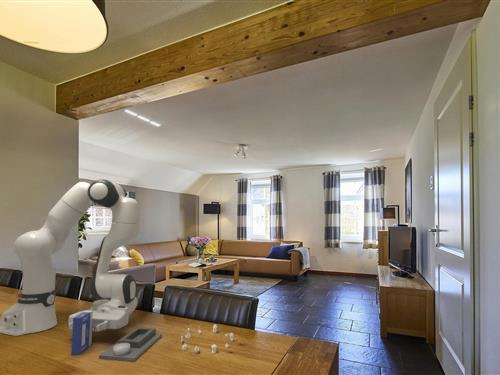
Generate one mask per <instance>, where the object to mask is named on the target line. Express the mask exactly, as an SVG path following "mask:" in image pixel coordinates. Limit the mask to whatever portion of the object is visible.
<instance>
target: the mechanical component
mask: <svg viewBox="0 0 500 375" xmlns="http://www.w3.org/2000/svg"><path fill="white" fill-rule="evenodd" d="M110 300H111V299H110ZM110 300H109V299H108V298H103V299H97V300H94V301H93V302H92V307H90V308H89V311H96V310H97V308H98V307H99V306H100V305H102V304H104V303H107V302H109V301H110Z"/></svg>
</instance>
